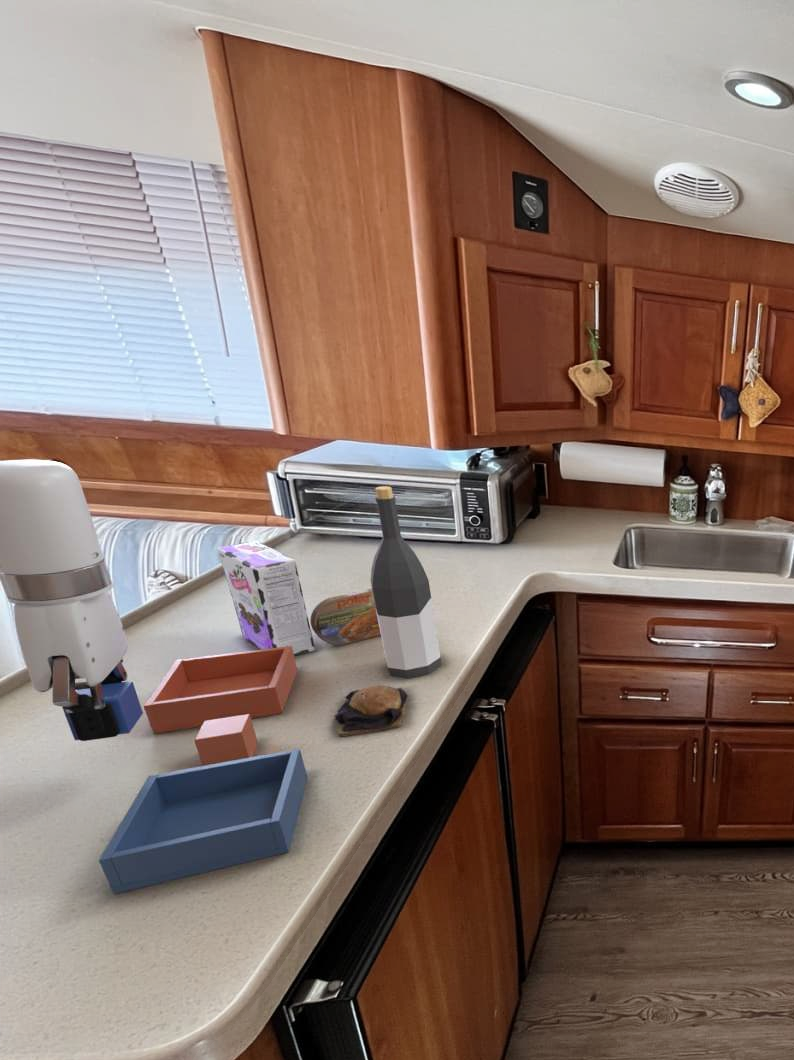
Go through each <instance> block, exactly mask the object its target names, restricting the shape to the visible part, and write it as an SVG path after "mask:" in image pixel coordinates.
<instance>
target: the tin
mask: <svg viewBox="0 0 794 1060" xmlns="http://www.w3.org/2000/svg"><path fill="white" fill-rule="evenodd" d="M310 628H311V630H312V631H313V632H314V633H315V635H316V636H317V637H318V638H319V639H320V640H321V641H323V642H325V643H327V644H330V645H333V646H347V645H350V644H354V643H357V642H361V641H365V640H367V639H371V638H376V637H378V636H381V633H380V628H379V622H378V617H377V612H376V607H375V602H374V597H373V592H372V587H371V588H367V589H362V590H358V591H354V592H350V593H349V592H348V593H345V594H340V595H337V596H336V595H335V596H332V597H328V598H325V599H324V600H322V601H320V602H319V603H318V604H317V605H316V606H315V607H314V608H313V610H312V611H311V614H310Z"/></svg>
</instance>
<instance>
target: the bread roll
mask: <svg viewBox="0 0 794 1060" xmlns="http://www.w3.org/2000/svg"><path fill="white" fill-rule="evenodd" d="M344 698H345V699H344V703H343V704H342V705H341V706H340V708H339V709H338V710H337V713H336V714H335V715H334V717H335V721H336V722H337V723H338V733H337V734H338V737H349V736H354V735H365V734H367V733H370V732H375V733H376V732H377V733H378V732H381V731H384V730H385V731H386V730H388V729H395V728H399V727H401V726H402V724H403V722H404V718H405V717H404V716H405V715H406V713H405V712H406V708H407V700H408V694H407V693H406V689H405V688H403V687H396V688H395V687H394V686H391V685H386V684H374V685H366V686H364V687H362V688H360V689H356V690H352V691H350V692H349V693H348V694H346V696H344Z"/></svg>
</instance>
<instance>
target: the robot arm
mask: <svg viewBox="0 0 794 1060" xmlns="http://www.w3.org/2000/svg"><path fill="white" fill-rule="evenodd" d="M83 490H84V489H83V487H82V484H81V481H80V479H79V476H78V474H77V473H76V472H75V471H74V469H73V468H72V467H70V466H68V465H67V464H64V463H62V462H58V461H53V460H46V459H45V460H43V459H10V460H9V459H8V460H0V583H1V586H2V588H3V590H4V594H5V595H6V598H7V601H8V602H9V603H11V604H14V606H13V614H14V623H15V628H16V633H17V638H18V642H19V646H20V649H21V653H22V656H23V659H24V663H25V666H26V669H27V672H28V675H29V679H30V681H31V684H32V686H33V689H34V690H35V691H37V692H38V693H47V692H48V691H50V690H51V689H52V704H53V706H57V707H61V708H62V707H64V708H65V711H66V713H69V715H70V718H71V720H72V723H73V726H74V728H75V731H76V734H77V736H78V739H79V740H78V741H81V742H88V741H95V740H102V739H108V738H115V737H118V736H119V735H120V734H119V733H120V730H119V727H118V724H117V721H116V719H115V716H114V713H113V710H112V707H111V704H106V705H105V700H104V695H103V690H102V686H101V685H104V684H113V683H122V682H127V680H128V673H127V671H126V668H125V666H124V664H123V663H124V657H125V656H126V654H127V652H128V648H129V645H128V641H127V635H126V632H125V629H124V626H123V623H122V620H121V618H120V615H119V613H118V610H117V607H116V605H115V602H114V600H113V597H112V596H111V593H110V591H111V590H112V589H113V588H114V583H113V580H112V578H111V574H110V572H109V571H110V570H109V568H108V565H107V562H106V558H105V557H104V553H103V551H102V550H103V549H102V547H101V543H100V540H99V537H98V534H97V531H96V528H95V524H94V521H93V518H92V514H91V511H90V509H89V505H88V502H87V498H86V496H85V492H84V491H83ZM79 679H85V680H86V681H79V682H76V680H79ZM89 688H90V692H91V696H92V697H90V696H88V695H86V694H82V695H80V694H78V693H76V691H77V690H80V689H89ZM118 734H119V735H118Z"/></svg>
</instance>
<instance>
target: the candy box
mask: <svg viewBox="0 0 794 1060" xmlns="http://www.w3.org/2000/svg"><path fill="white" fill-rule="evenodd" d="M217 551H218V555H219V558H220V562H221V565H222V569H223V572H224V575H225V579H226V582H227V586H228V589H229V592H230V596H231V598H232V603H233V606H234V610H235V614H236V617H237V620H238V624H239V627H240V631H241V634H242V637H243V638H244V639H245V640H247V641H249V642H250V643H251V644H253V645H254V646H255V647H257V648H258V649H259V650H262V649H270V648H279V647H286V646H292V649H293V653H294V657H296V656H299V655H304V654H308V653H311V652H314V651H315V650H316V647H315V642H314V638H313V634H312V628H311V624H310V620H309V616H308V612H307V607H306V603H305V598H304V594H303V590H302V584H301V581H300V575H299V571H298V567H297V563H296V560H295V559H294V558H292V557H288V556H287V555H285V554H283V553H281V552H279V551H278V550H276V549H274V548H272V547H271V546H269V545H266V544H264V543H262V542H261V541H259V540H253V541H247V542H241V543H237V544H229V545H225V546H219V547H217Z"/></svg>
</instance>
